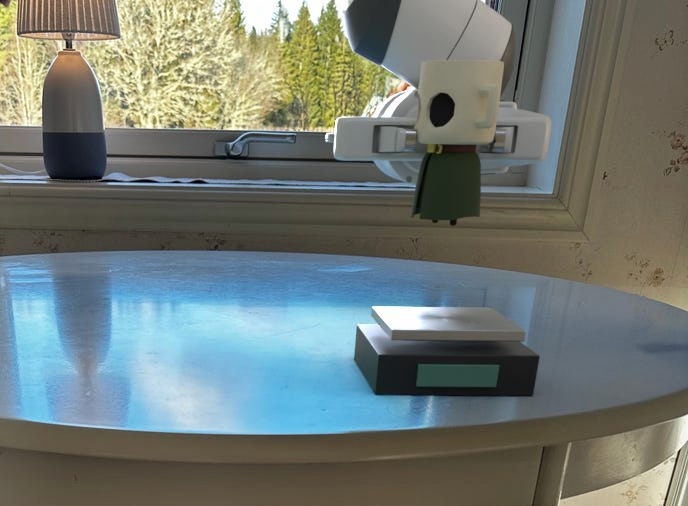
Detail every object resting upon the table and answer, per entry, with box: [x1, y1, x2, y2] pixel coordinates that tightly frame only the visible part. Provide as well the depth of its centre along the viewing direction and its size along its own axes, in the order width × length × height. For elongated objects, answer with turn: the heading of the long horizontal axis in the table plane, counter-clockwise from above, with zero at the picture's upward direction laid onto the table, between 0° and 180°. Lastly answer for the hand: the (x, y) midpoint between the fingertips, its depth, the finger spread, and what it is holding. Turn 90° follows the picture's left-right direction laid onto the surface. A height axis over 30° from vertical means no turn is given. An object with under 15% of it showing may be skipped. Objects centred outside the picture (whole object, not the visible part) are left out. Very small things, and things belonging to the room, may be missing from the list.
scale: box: [353, 323, 541, 397], centre depth 77 cm, size 12×12×3 cm
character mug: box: [409, 60, 504, 227], centre depth 86 cm, size 11×7×13 cm, turn 23°
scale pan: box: [370, 305, 527, 343], centre depth 75 cm, size 10×10×1 cm
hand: (455, 140), depth 85 cm, fingers closed on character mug, 7 cm apart
